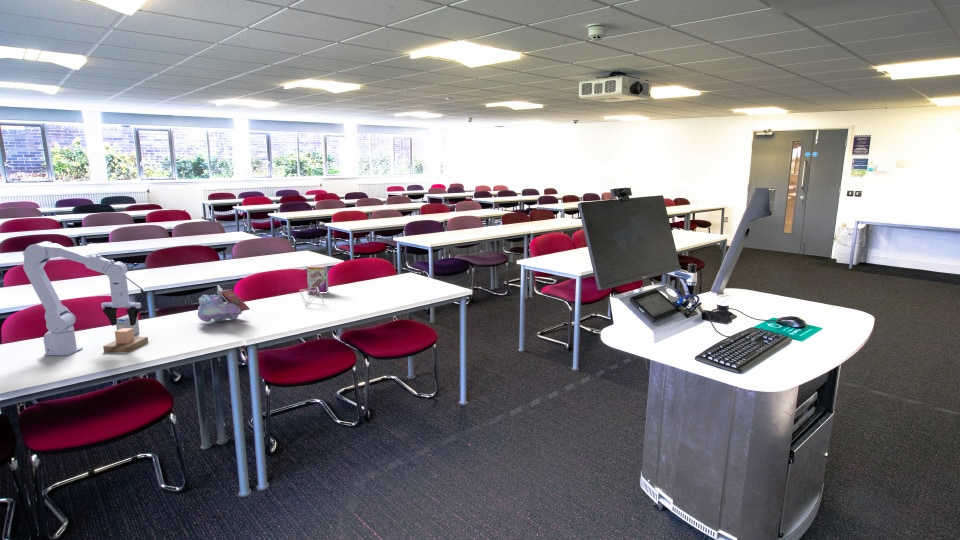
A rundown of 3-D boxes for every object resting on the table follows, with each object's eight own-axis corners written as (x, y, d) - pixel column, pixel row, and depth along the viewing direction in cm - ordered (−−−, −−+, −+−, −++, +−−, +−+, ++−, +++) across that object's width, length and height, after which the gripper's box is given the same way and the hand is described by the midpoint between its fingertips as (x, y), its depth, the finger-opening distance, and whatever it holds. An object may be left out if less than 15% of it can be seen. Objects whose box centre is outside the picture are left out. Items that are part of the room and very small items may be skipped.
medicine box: (130, 332, 227) (127, 314, 225) (140, 332, 226) (137, 314, 225) (117, 338, 219) (114, 319, 217) (127, 338, 219) (124, 319, 217)
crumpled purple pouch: (196, 320, 246) (193, 284, 243) (244, 313, 258) (242, 279, 254) (200, 331, 230) (197, 292, 226) (252, 323, 241) (249, 287, 238)
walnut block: (104, 353, 202) (103, 346, 202) (124, 343, 214) (124, 336, 213) (129, 353, 202) (128, 346, 202) (148, 343, 214) (147, 336, 213)
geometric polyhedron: (324, 301, 283) (323, 286, 281) (325, 306, 273) (324, 290, 271) (300, 303, 279) (299, 287, 277) (300, 308, 269) (299, 292, 267)
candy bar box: (307, 294, 299) (305, 267, 296) (309, 292, 304) (308, 265, 301) (326, 294, 300) (325, 267, 297) (328, 292, 305) (327, 265, 302)
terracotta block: (116, 343, 205) (114, 331, 204) (123, 339, 210) (122, 328, 209) (127, 343, 205) (126, 331, 204) (134, 339, 210) (133, 328, 209)
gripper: (94, 294, 200) (98, 327, 202) (131, 295, 200) (135, 328, 202) (106, 290, 206) (110, 322, 209) (142, 290, 207) (146, 322, 209)
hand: (123, 325), depth 206 cm, fingers open, 7 cm apart
